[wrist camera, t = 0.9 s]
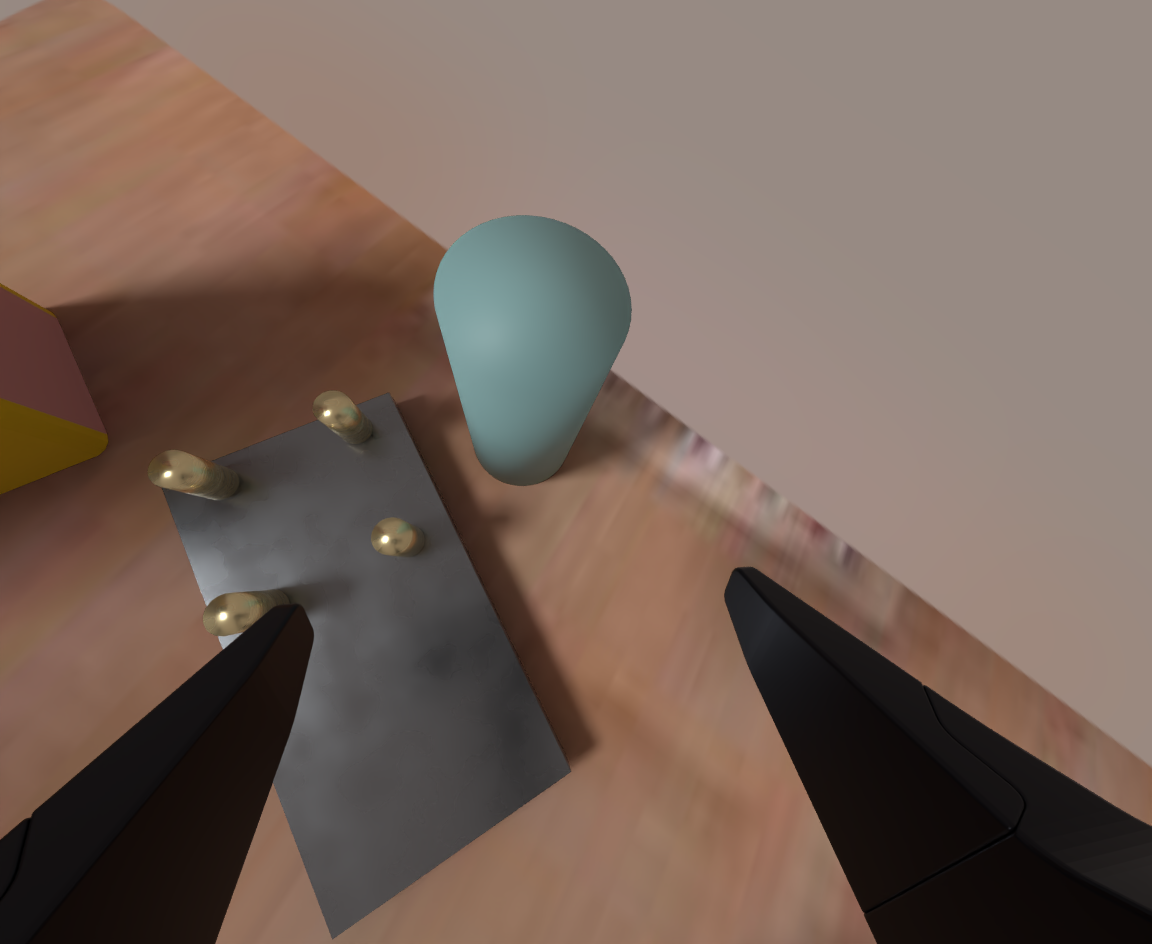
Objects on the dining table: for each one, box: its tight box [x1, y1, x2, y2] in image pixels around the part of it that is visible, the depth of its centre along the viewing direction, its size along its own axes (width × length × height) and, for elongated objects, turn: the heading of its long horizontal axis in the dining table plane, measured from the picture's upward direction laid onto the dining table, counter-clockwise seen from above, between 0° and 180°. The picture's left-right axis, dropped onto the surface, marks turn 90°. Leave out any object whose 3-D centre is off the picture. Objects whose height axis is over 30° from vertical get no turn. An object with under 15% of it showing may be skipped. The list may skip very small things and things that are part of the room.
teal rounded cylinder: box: [434, 215, 632, 486], centre depth 18 cm, size 6×6×13 cm
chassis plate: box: [148, 390, 571, 939], centre depth 18 cm, size 21×11×4 cm, turn 28°
